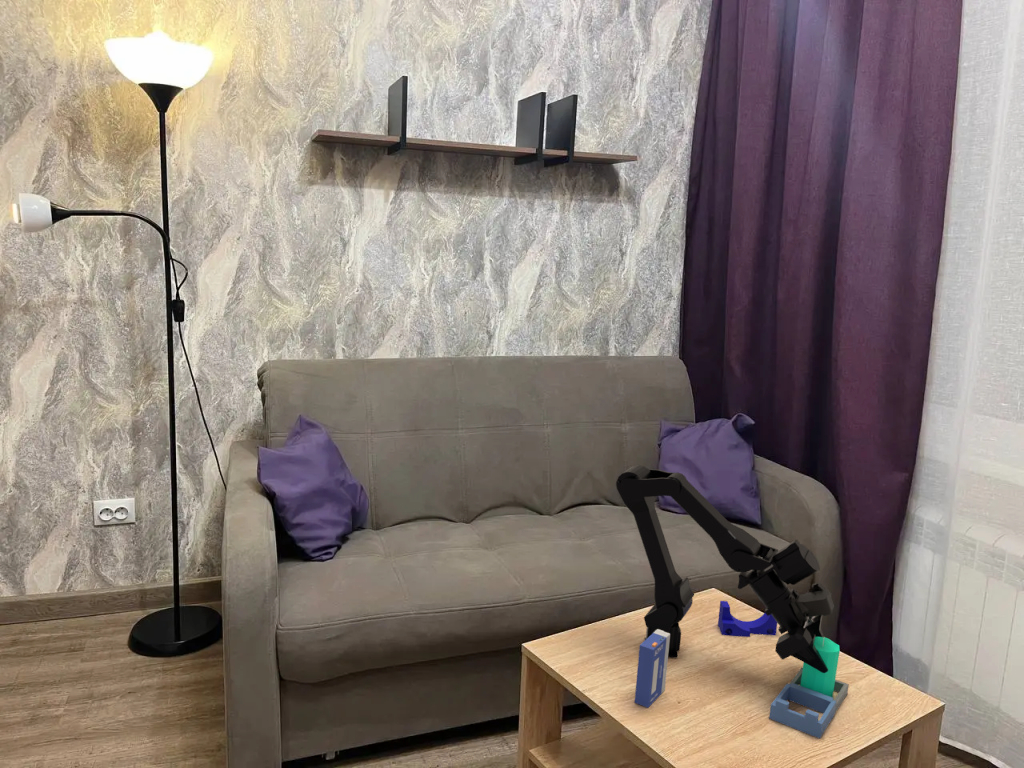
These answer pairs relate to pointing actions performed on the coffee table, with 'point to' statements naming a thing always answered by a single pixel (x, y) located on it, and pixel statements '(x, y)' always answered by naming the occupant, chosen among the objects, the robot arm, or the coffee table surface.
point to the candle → (818, 679)
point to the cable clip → (744, 624)
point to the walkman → (652, 668)
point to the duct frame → (810, 700)
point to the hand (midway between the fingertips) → (828, 664)
